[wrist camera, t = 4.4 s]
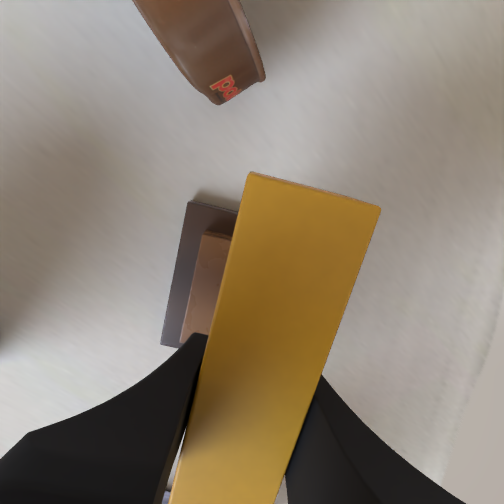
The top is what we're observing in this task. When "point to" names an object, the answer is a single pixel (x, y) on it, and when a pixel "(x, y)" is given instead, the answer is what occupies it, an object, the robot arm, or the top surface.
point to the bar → (269, 337)
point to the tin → (207, 43)
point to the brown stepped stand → (198, 271)
